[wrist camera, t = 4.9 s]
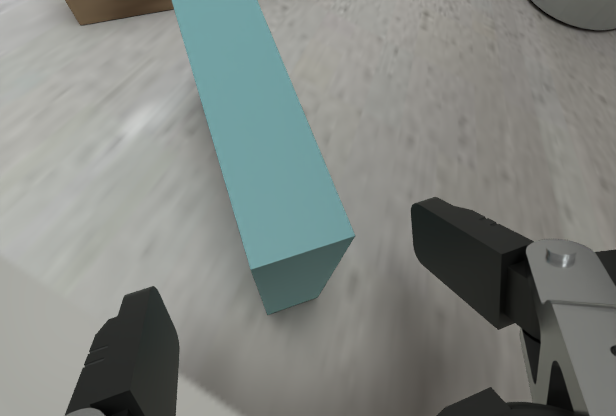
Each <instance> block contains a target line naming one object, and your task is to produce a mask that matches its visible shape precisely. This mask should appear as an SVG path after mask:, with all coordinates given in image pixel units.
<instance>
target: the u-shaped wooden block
mask: <svg viewBox="0 0 616 416" xmlns="http://www.w3.org/2000/svg"><path fill="white" fill-rule="evenodd" d="M65 1H66V3H67V4H68V6H69V8H70V9H71V11H72V12H73V14H74V16H75V17H76V19H77V21H78V22H79V24H80V25H85V24H90V23H96V22H102V21H108V20H113V19H119V18H125V17H131V16H136V15H142V14H148V13H153V12H159V11H165V10H171V9H174V7H173V3H172V0H65Z"/></svg>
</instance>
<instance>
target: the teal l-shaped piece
mask: <svg viewBox="0 0 616 416" xmlns="http://www.w3.org/2000/svg"><path fill="white" fill-rule="evenodd" d="M172 3H173V7H174V10H175V14H176V17H177V20H178V24H179V27H180V31H181V34H182V37H183V41H184V44H185V48H186V51H187V54H188V58H189V61H190V65H191V68H192V71H193V75H194V78H195V82H196V85H197V89H198V92H199V95H200V99H201V102H202V106H203V109H204V112H205V116H206V119H207V123H208V126H209V129H210V133H211V136H212V140H213V143H214V146H215V150H216V153H217V157H218V160H219V164H220V167H221V170H222V174H223V177H224V181H225V184H226V187H227V191H228V194H229V198H230V201H231V204H232V208H233V211H234V215H235V218H236V221H237V225H238V228H239V232H240V235H241V239H242V242H243V245H244V249H245V252H246V256H247V259H248V262H249V266H250V269H251V272H252V275H253V277H254V280H255V283H256V285H257V288H258V291H259V293H260V296H261V299H262V301H263V304H264V307H265V309H266V312H267V315H269V314H272V313H275V312H277V311H280V310H283V309H286V308H289V307H292V306H294V305H297V304H300V303H303V302H306V301H309V300H311V299H314V298H317V297H318V296H319V294H320V293H321V291H322V289H323V288H324V286H325V284H326V283H327V281H328V280H329V278H330V276H331V275H332V273H333V271H334V270H335V268H336V266H337V265H338V263H339V262H340V260H341V258H342V257H343V255H344V253H345V252H346V250H347V248H348V247H349V245H350V244H351V242H352V240H353V239H354V237H355V234H354V232H353V229H352V227H351V224H350V222H349V220H348V217H347V215H346V212H345V210H344V208H343V205H342V203H341V200H340V198H339V196H338V193H337V191H336V188H335V186H334V184H333V181H332V179H331V176H330V174H329V172H328V169H327V167H326V164H325V162H324V160H323V157H322V155H321V152H320V150H319V148H318V145H317V143H316V140H315V138H314V136H313V133H312V131H311V128H310V126H309V124H308V121H307V119H306V116H305V114H304V112H303V109H302V107H301V104H300V102H299V100H298V97H297V95H296V92H295V90H294V88H293V85H292V83H291V80H290V78H289V76H288V73H287V71H286V68H285V66H284V64H283V61H282V59H281V56H280V54H279V52H278V49H277V47H276V44H275V42H274V40H273V37H272V35H271V32H270V30H269V28H268V25H267V23H266V20H265V18H264V16H263V13H262V11H261V8H260V6H259V4H258V1H257V0H172Z"/></svg>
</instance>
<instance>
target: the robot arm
mask: <svg viewBox="0 0 616 416" xmlns="http://www.w3.org/2000/svg"><path fill="white" fill-rule="evenodd" d="M532 1H533V3H534V4H535V5H537V6H538V7H539V8H540V9H542V10H543V11H544V12H546V13H547V14H549V15H551V16H552V17H554V18H556V19H558V20H560V21H562V22H565V23H567V24H569V25H573V26H576V27H580V28H584V29H591V30H610V29H615V28H616V0H532ZM411 221H412V234H413V246H414V251H415V254H416V256H417V258H418V260H419V261H420V263H421V264H422V265H423V266H425V267H426V268H427V269H428V270H429V271H430V272H431V273H433V274H434V275H435V276H436V277H437V278H438V279H440V280H441V281H442V282H443V283H444V284H445V285H447V286H448V287H449V288H450V289H451V290H452V291H454V292H455V293H456V294H457V295H458V296H459V297H461V298H462V299H463V300H464V301H465V302H466V303H468V304H469V305H470V306H471V307H472V308H473V309H475V310H476V311H477V312H478V313H479V314H480V315H482V316H483V317H484V318H485V319H486V320H487V321H488V322H490V323H491V324H492V325H493V326H494V327H495V328H497V329H498V330H499V329H502V328H504V327H507V326H509V325H511V324H514V323H516V324H517V325H519V326H520V334H519V336H520V342H521V347H522V352H523V357H524V362H525V367H526V372H527V377H528V382H529V387H530V392H531V397H532V403H530V402H507V403H505V402H504V401H503V400H502V399H501V398H500V396H499V395H498V394H497V393H496V392H495V391H494V390H493V389H492V388H491V387H490V388H488V389H485V390H483V391H481V392H479V393H477V394H474V395H472V396H470V397H468V398H465V399H463V400H461V401H459V402H457V403H454V404H452V405H450V406H448V407H446V408H444V409H443V410H442V411H441V412H440V413H439V414H438V415H437V416H616V250H609V251H600V252H594V251H592V250H591V249H590V248H588V247H586V246H584V245H582V244H579V243H576V242H572V241H568V240H561V239H544V240H539V241H536V242H534V241H532V240H530V239H528V238H526V237H524V236H522V235H520V234H518V233H516V232H514V231H512V230H510V229H508V228H506V227H504V226H502V225H500V224H496V222H494V221H492V220H490V219H488V218H487V219H486V218H485V217H484V216H482V215H480V214H479V213H477V212H475V211H473V210H469V209H465V208H460V207H456V206H453V205H451V204H449V203H447V202H445V201H443V200H441V199H439V198H437V197H433V198H430V199H427V200H424V201H421V202H418V203H415V204H413V205H412V207H411ZM89 352H90V354H88V356H87V359H86V361H85V364H84V365H85V367H84V368H83V369H82V372H81V374H80V377H79V379H78V382H77V385H76V388H75V390H74V393H73V395H72V398H71V400H70V403H69V406H68V409H67V411H66V414H65V416H176V400H177V383H178V367H179V340H178V336H177V332H176V329H175V327H174V325H173V322H172V320H171V318H170V316H169V314H168V311H167V309H166V307H165V305H164V303H163V300H162V298H161V296H160V294H159V292H158V290H157V289H156V288H155V287H154V286H152V287H149V288H146V289H143V290H139V291H136V292H133V293H130V294H127V295H125V296H124V298H123V301H122V304H121V307H120V310H119V314H118V316H117V317H114V318H111V319H109V320H108V321H107V322H106V323H105V324H104V326H103V327H102V328H101V329H100V330H99V332H98V333H97V334H96V335H95V337H94V340H93V343H92V345H91V348H90V351H89Z"/></svg>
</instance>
